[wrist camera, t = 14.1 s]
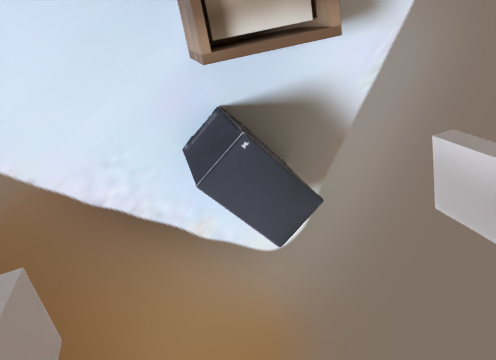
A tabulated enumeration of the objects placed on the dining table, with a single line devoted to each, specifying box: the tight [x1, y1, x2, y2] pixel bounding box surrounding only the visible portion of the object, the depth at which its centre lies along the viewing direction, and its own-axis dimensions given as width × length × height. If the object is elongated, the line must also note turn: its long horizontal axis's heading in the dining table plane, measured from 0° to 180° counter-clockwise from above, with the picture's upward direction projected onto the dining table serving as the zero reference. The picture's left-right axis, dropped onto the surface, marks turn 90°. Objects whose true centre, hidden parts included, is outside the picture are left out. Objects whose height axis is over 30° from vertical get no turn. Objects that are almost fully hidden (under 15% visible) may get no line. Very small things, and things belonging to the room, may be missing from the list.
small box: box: [183, 107, 323, 247], centre depth 39 cm, size 11×6×10 cm, turn 47°
